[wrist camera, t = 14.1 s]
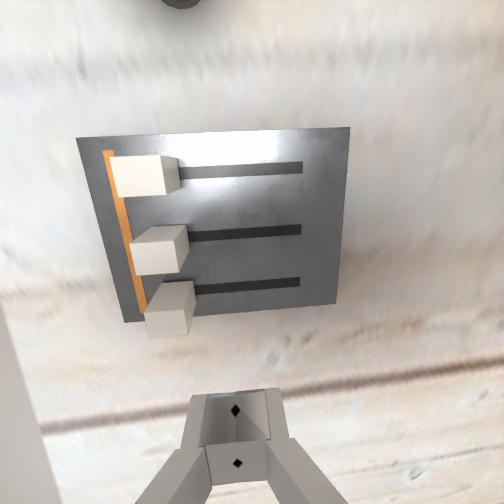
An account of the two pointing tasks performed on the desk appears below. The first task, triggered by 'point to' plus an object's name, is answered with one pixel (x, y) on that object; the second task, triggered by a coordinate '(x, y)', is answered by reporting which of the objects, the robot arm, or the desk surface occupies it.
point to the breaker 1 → (145, 175)
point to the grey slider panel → (230, 216)
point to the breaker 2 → (160, 250)
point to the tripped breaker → (171, 310)
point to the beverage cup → (181, 3)
